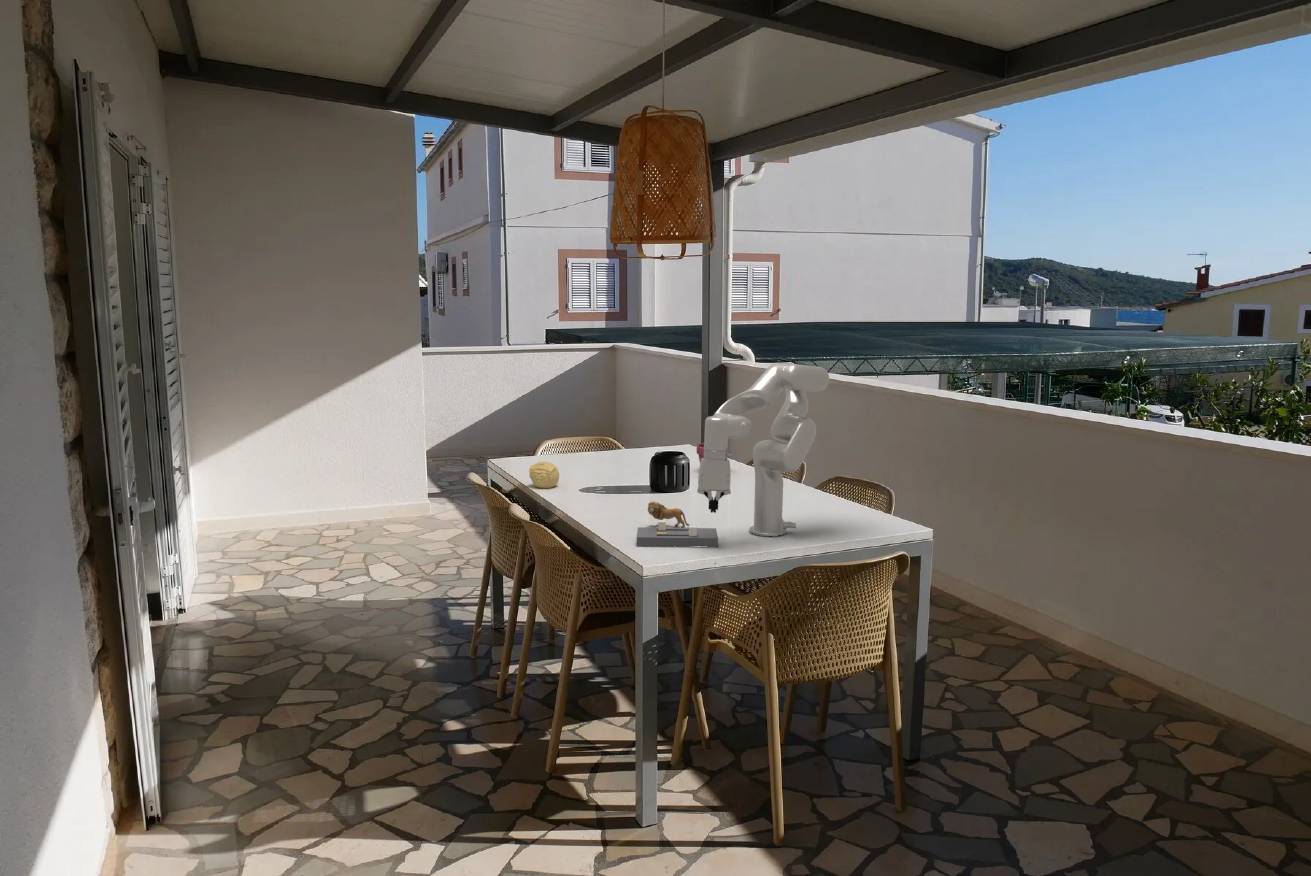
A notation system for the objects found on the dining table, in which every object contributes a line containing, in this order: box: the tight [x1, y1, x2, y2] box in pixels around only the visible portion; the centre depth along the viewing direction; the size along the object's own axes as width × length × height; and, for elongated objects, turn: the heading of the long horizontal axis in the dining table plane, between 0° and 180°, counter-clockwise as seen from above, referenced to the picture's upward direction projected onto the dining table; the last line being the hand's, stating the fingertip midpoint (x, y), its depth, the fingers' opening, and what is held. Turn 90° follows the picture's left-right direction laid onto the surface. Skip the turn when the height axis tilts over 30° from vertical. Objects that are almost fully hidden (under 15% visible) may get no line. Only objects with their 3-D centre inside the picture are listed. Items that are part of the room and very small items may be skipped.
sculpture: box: [528, 461, 560, 489], centre depth 394 cm, size 11×12×11 cm
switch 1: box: [657, 519, 667, 531], centre depth 313 cm, size 2×3×4 cm
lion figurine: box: [647, 501, 690, 528], centre depth 329 cm, size 15×5×9 cm, turn 90°
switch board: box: [636, 526, 719, 548], centre depth 309 cm, size 26×13×3 cm, turn 89°
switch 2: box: [688, 524, 698, 536], centre depth 306 cm, size 2×3×4 cm
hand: (713, 511), depth 304 cm, fingers closed
